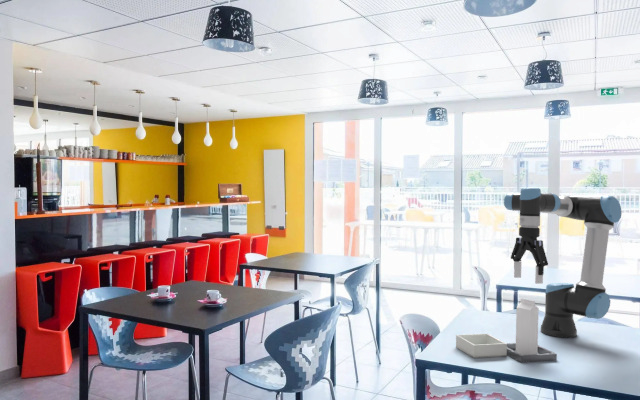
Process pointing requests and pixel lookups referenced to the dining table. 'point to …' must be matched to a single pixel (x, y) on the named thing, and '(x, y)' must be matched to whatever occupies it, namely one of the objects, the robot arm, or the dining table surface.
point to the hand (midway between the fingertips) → (527, 280)
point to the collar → (543, 356)
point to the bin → (481, 345)
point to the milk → (527, 327)
